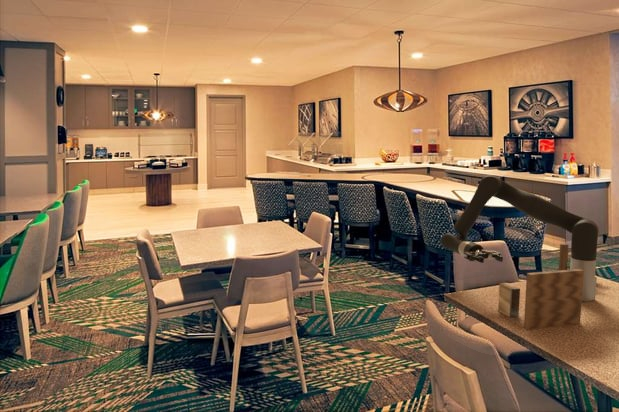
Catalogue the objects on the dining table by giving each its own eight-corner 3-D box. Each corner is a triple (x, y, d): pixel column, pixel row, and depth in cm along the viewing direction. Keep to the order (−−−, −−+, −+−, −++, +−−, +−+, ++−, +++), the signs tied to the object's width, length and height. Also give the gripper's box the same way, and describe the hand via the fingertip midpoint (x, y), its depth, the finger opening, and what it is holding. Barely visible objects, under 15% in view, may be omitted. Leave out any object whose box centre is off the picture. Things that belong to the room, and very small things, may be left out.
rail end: (505, 309, 196) (507, 282, 195) (518, 316, 189) (520, 288, 187) (498, 310, 196) (499, 283, 194) (510, 317, 188) (512, 289, 186)
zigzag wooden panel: (566, 316, 188) (569, 265, 185) (580, 323, 181) (583, 270, 179) (515, 322, 183) (517, 269, 180) (527, 329, 176) (530, 274, 174)
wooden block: (582, 285, 226) (585, 246, 224) (556, 282, 232) (559, 244, 229) (583, 283, 229) (586, 245, 227) (557, 280, 235) (560, 242, 233)
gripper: (456, 243, 214) (477, 251, 199) (485, 241, 217) (508, 250, 202) (455, 260, 215) (476, 270, 200) (485, 258, 218) (507, 267, 203)
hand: (492, 259), depth 201 cm, fingers open, 8 cm apart
